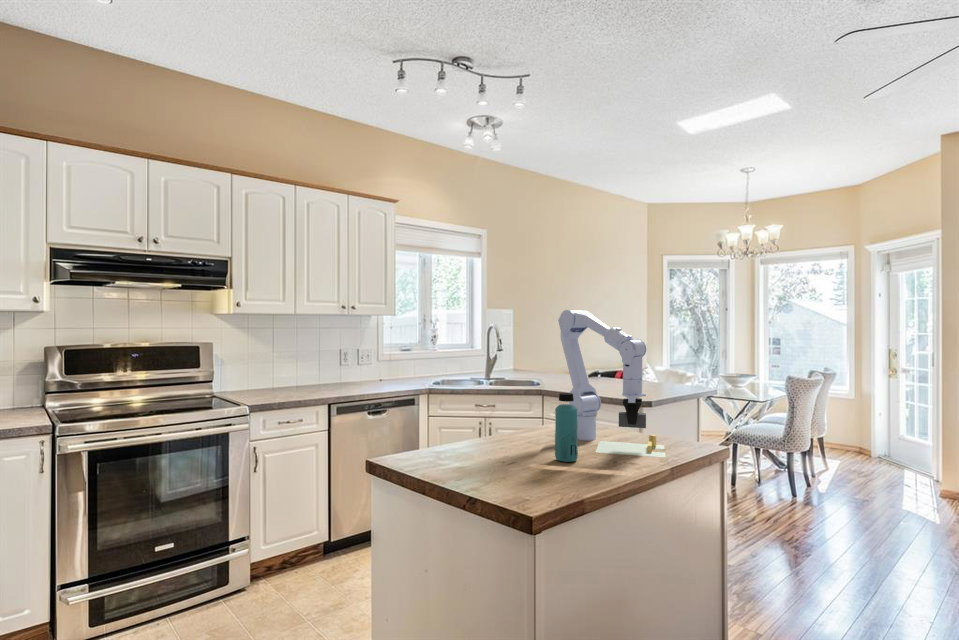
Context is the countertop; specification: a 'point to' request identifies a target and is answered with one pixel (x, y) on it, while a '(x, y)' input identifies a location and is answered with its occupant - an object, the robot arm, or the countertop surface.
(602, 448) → the pale green u-shaped slab
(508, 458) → the countertop surface
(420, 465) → the countertop surface
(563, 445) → the beverage bottle
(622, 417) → the tall gray prism
